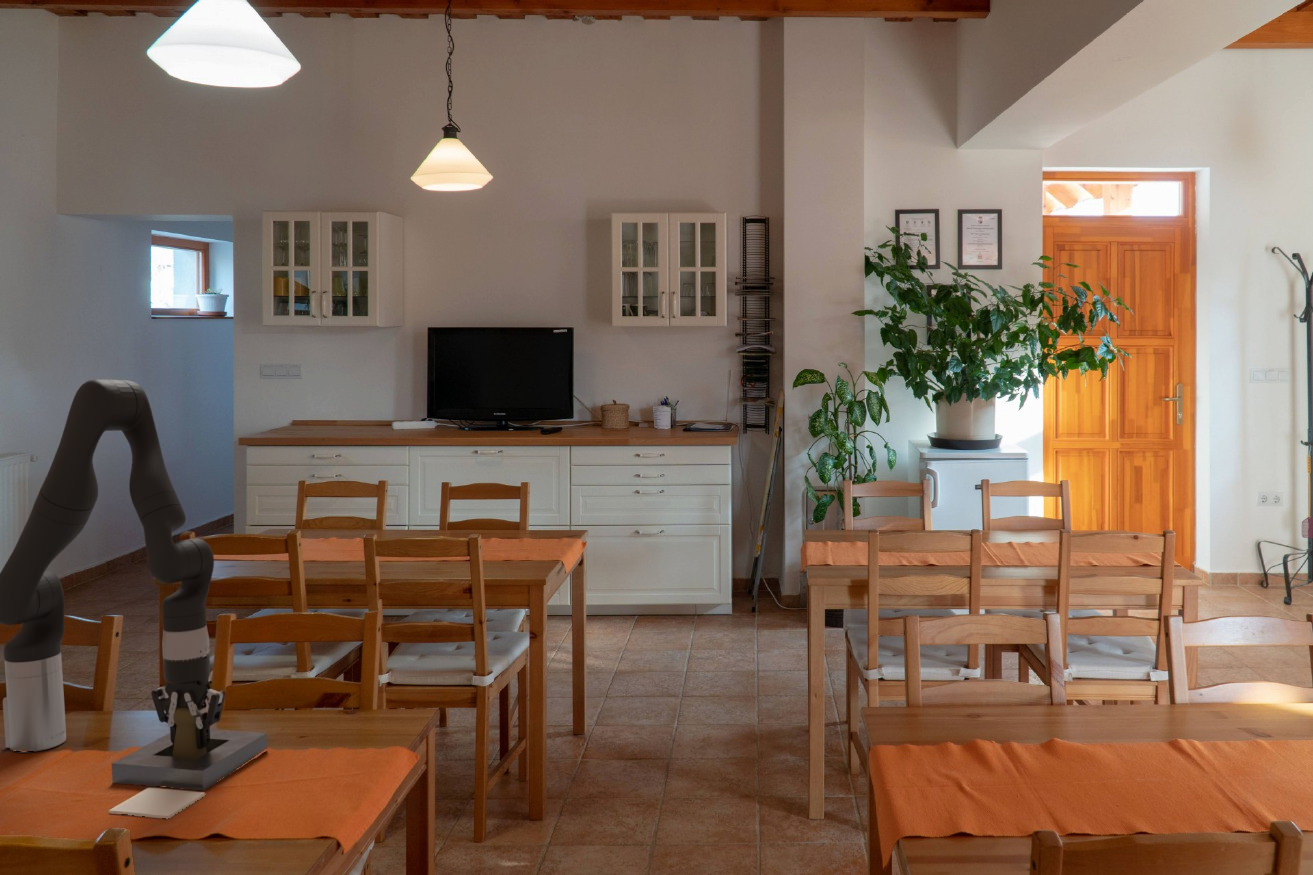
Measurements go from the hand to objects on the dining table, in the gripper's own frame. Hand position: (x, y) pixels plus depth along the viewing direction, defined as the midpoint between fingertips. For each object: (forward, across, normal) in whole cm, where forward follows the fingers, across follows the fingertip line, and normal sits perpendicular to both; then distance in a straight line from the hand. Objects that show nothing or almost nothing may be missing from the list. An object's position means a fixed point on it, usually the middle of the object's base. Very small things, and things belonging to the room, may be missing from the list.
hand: (190, 745), depth 184 cm
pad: (+4, +5, -15) cm, 16 cm away
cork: (+4, 0, 0) cm, 4 cm away
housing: (+4, 0, 0) cm, 4 cm away
